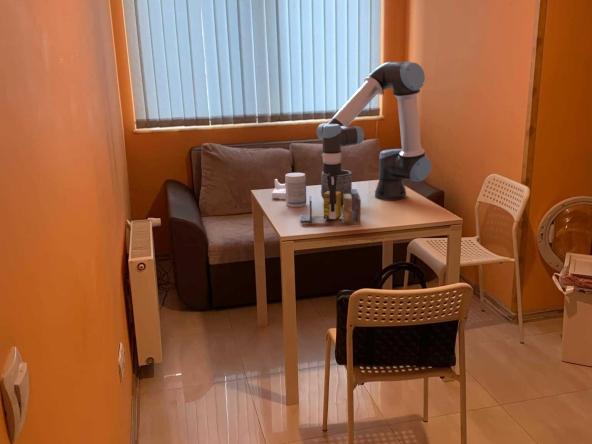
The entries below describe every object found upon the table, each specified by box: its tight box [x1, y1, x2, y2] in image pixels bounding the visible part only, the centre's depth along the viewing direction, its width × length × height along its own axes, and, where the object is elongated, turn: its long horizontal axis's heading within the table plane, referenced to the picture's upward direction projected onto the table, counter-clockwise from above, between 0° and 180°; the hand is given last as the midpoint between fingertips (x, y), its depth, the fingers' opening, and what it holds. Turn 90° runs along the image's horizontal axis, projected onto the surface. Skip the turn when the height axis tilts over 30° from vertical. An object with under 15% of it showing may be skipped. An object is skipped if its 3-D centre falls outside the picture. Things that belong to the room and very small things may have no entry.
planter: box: [320, 169, 353, 207], centre depth 277 cm, size 14×14×15 cm
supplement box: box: [323, 191, 342, 220], centre depth 248 cm, size 6×6×11 cm
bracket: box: [271, 178, 286, 201], centre depth 293 cm, size 13×7×8 cm, turn 174°
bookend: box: [299, 195, 313, 223], centre depth 249 cm, size 5×8×9 cm, turn 179°
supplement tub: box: [284, 172, 307, 208], centre depth 275 cm, size 10×10×15 cm
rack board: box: [301, 188, 362, 227], centre depth 248 cm, size 24×11×13 cm, turn 89°
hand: (332, 215), depth 249 cm, fingers closed on supplement box, 7 cm apart
